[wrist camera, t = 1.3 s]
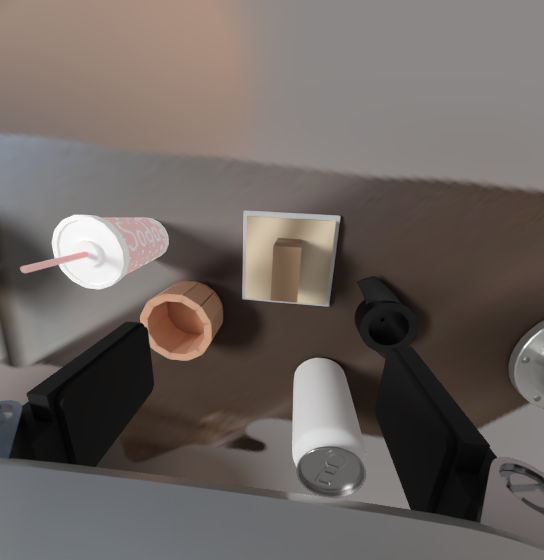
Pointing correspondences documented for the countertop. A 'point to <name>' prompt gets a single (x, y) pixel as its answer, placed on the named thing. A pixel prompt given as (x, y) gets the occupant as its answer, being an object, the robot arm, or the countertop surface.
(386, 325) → the black winged knob
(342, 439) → the can
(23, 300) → the countertop surface
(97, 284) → the beverage cup
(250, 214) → the mat
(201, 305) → the bowl
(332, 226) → the lid
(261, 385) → the countertop surface
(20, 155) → the countertop surface
